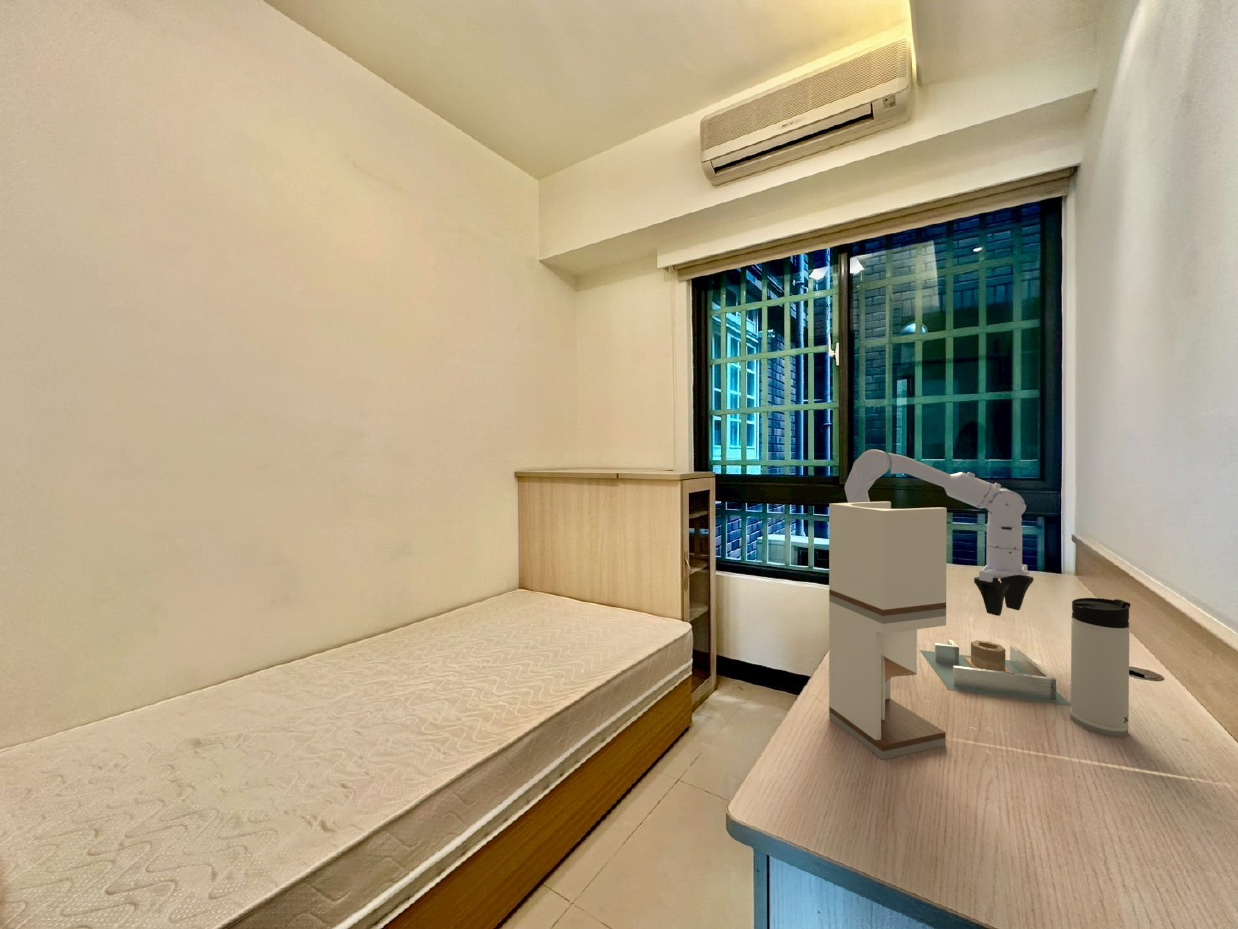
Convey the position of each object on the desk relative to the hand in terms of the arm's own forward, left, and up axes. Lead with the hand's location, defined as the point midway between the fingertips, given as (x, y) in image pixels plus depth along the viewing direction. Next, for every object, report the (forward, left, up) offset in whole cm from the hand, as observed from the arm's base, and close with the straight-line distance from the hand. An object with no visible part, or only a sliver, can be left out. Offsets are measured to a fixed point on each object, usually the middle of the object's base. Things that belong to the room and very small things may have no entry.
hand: (1003, 611), depth 97 cm
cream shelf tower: (-29, -37, -10) cm, 48 cm away
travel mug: (+3, -25, -10) cm, 27 cm away
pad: (-5, -7, -10) cm, 13 cm away
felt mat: (-7, -11, -10) cm, 16 cm away
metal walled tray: (-7, -10, -10) cm, 16 cm away
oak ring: (-5, -7, -9) cm, 12 cm away
